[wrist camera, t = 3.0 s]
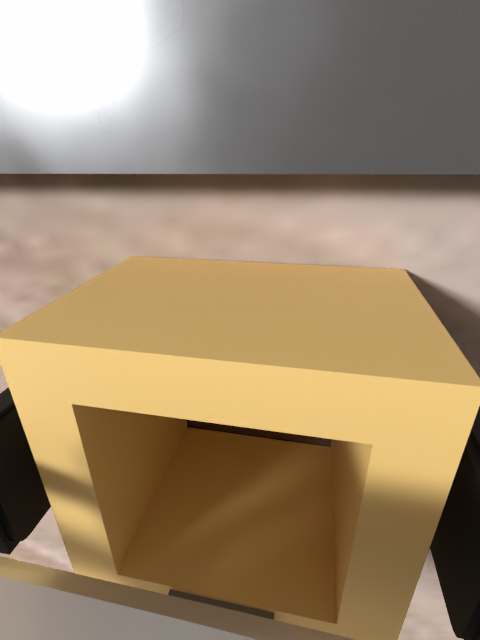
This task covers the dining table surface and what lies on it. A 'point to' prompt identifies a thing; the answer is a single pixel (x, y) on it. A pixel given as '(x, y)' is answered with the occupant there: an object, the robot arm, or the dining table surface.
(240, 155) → the post plate
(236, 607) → the collar
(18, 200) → the dining table surface
